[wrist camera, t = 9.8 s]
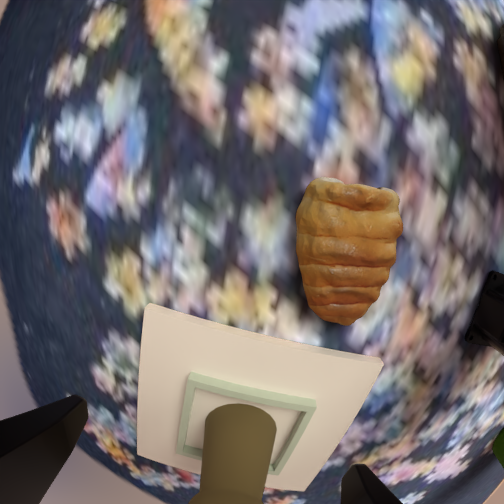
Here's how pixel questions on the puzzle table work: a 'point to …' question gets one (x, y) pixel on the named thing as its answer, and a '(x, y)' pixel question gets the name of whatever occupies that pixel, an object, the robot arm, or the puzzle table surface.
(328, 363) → the cream flat square slab
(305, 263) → the pastry
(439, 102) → the puzzle table surface
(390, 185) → the puzzle table surface
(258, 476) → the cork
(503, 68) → the dark grey round container
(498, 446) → the wine bottle
